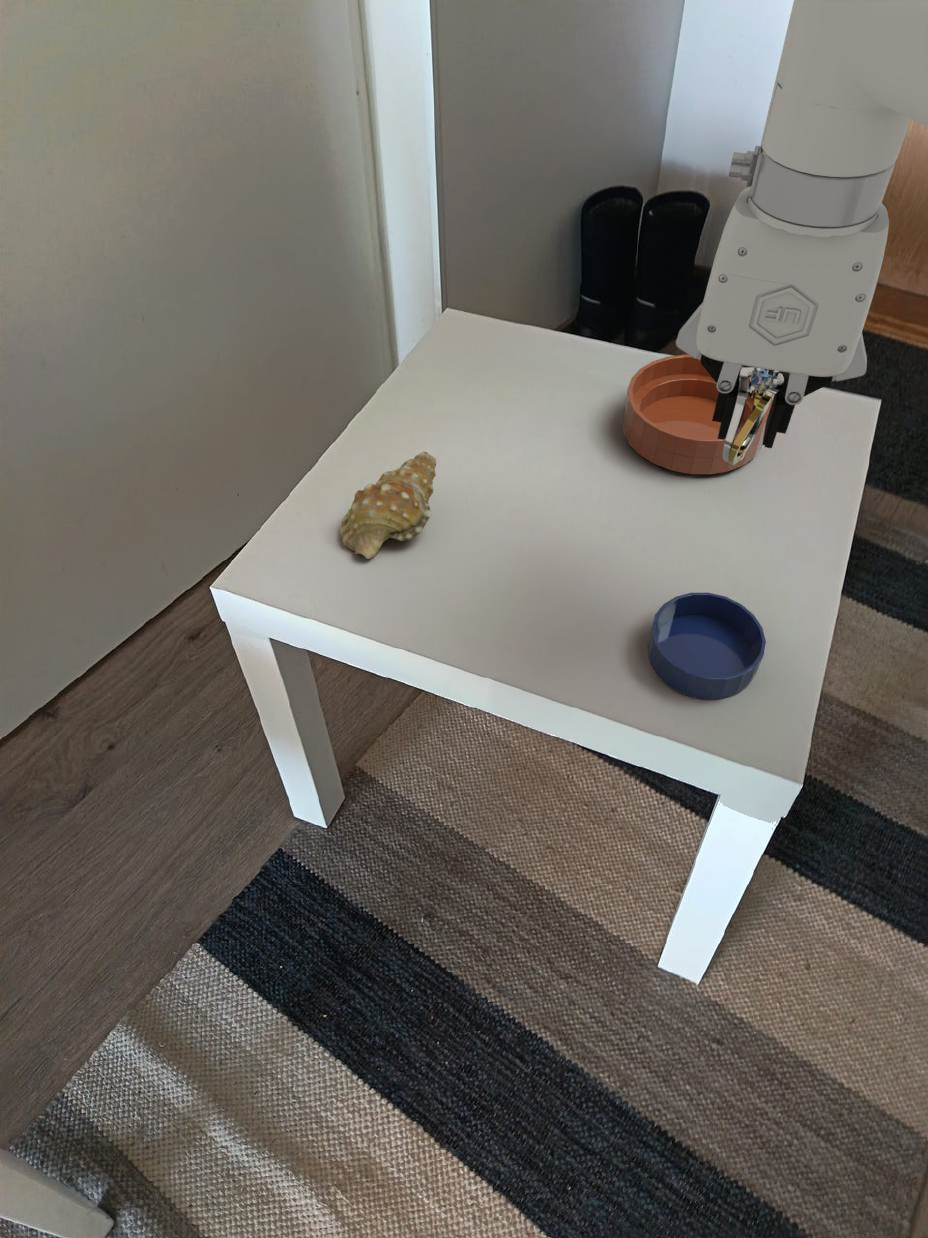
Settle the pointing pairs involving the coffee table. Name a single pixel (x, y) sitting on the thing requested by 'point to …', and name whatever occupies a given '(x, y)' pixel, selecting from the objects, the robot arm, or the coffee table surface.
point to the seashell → (390, 507)
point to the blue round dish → (705, 645)
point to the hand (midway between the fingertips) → (746, 430)
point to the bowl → (680, 417)
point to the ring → (763, 391)
